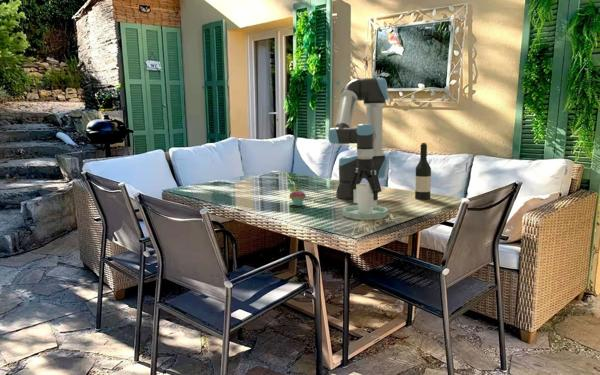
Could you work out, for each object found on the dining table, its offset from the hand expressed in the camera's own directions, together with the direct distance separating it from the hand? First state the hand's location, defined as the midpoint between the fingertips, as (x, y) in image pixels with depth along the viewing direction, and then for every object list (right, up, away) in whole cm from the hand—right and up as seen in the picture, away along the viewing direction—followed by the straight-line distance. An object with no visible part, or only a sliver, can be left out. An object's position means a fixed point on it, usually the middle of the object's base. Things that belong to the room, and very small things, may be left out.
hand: (365, 204), depth 209 cm
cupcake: (-31, -1, +28) cm, 42 cm away
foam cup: (0, -4, +1) cm, 4 cm away
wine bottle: (+37, +2, +35) cm, 51 cm away
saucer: (0, -5, +1) cm, 5 cm away
